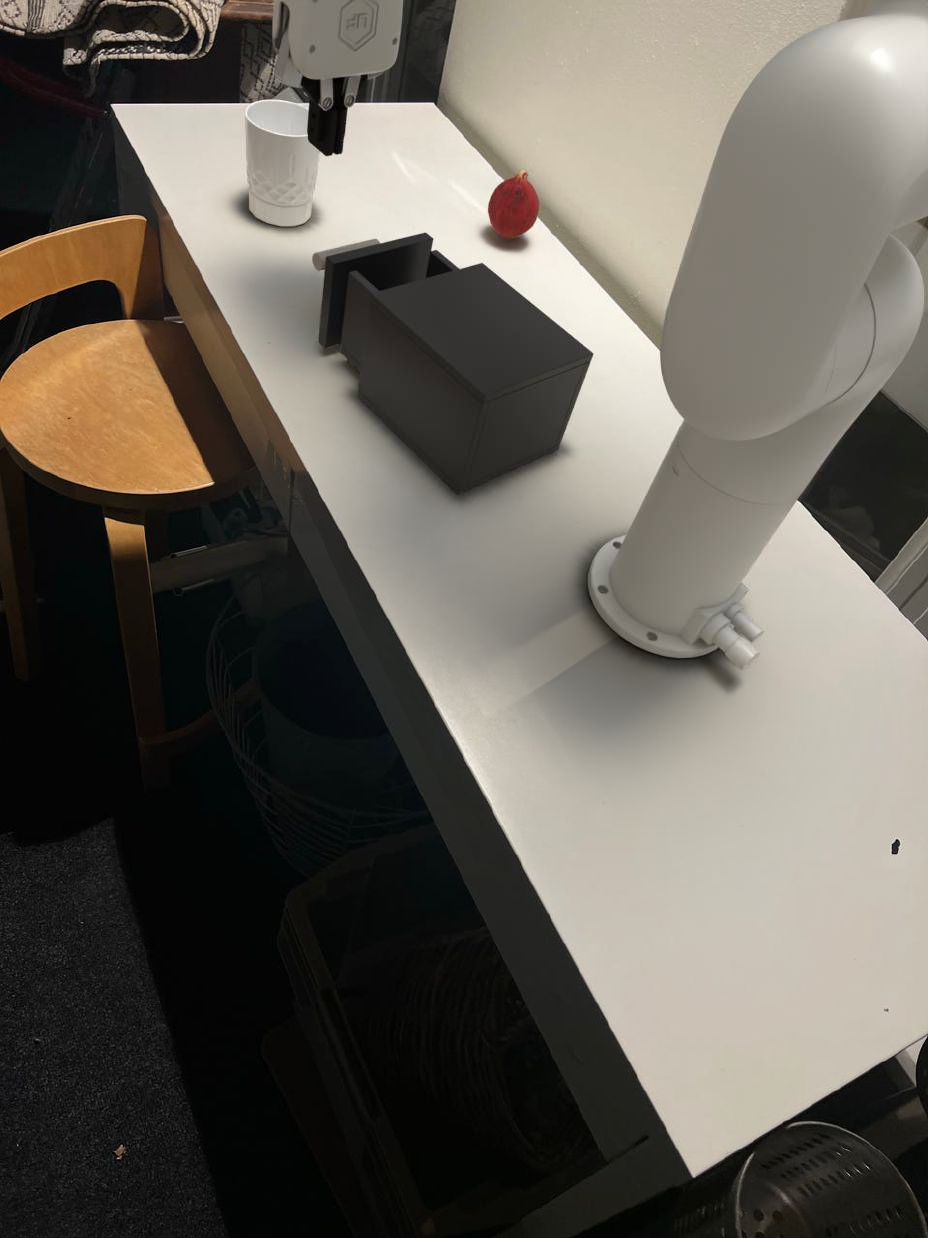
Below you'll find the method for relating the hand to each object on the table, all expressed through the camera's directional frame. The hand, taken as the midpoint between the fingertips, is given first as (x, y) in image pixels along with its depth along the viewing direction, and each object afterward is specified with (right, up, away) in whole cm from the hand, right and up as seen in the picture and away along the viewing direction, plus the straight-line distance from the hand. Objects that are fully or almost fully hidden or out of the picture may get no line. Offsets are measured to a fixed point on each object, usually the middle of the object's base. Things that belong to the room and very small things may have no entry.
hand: (324, 147), depth 81 cm
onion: (+17, +2, +25) cm, 31 cm away
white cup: (-8, +2, +19) cm, 20 cm away
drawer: (+6, -17, +5) cm, 19 cm away
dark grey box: (+12, -24, +2) cm, 27 cm away
